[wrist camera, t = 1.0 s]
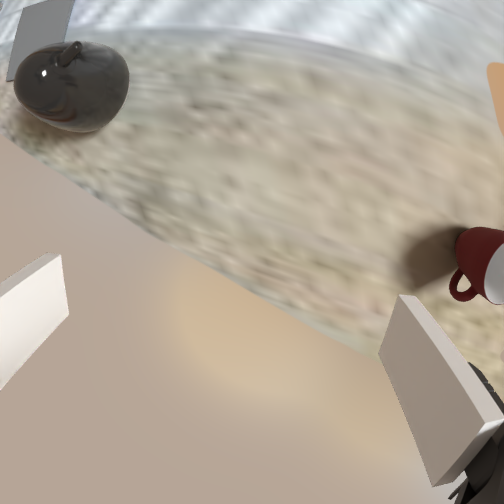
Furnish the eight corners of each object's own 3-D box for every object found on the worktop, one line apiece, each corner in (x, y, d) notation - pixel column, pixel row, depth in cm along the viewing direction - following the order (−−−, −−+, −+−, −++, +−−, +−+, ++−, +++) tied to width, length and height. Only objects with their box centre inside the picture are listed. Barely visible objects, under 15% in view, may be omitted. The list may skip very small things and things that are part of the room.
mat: (25, 8, 27) (23, 8, 26) (76, -6, 27) (74, -7, 26) (8, 81, 31) (5, 80, 30) (57, 73, 31) (54, 72, 30)
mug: (456, 296, 39) (492, 331, 29) (421, 270, 38) (458, 305, 28) (494, 235, 36) (538, 259, 26) (463, 203, 35) (510, 223, 25)
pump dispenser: (153, 111, 33) (85, 96, 19) (80, 145, 34) (-4, 155, 20) (132, 38, 30) (65, -5, 15) (63, 76, 31) (-18, 60, 17)
